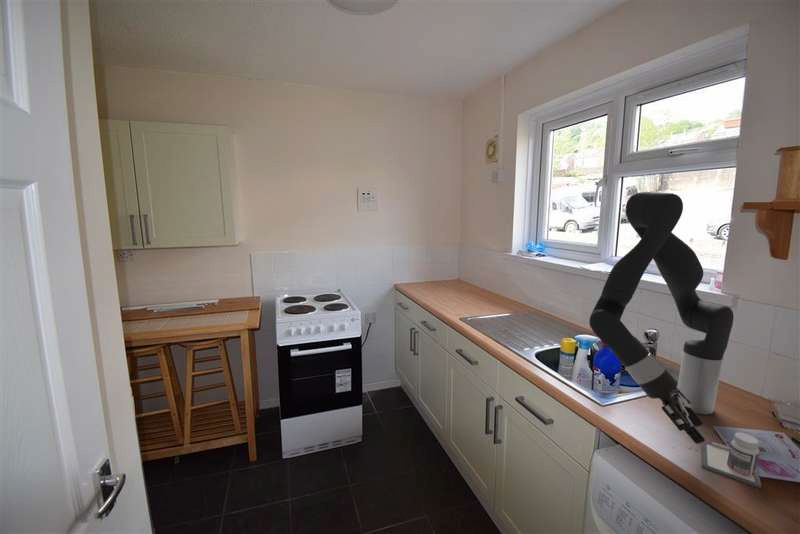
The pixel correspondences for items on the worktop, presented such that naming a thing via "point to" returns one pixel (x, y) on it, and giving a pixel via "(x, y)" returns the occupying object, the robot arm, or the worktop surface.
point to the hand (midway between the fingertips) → (700, 433)
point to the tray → (723, 463)
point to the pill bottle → (743, 455)
